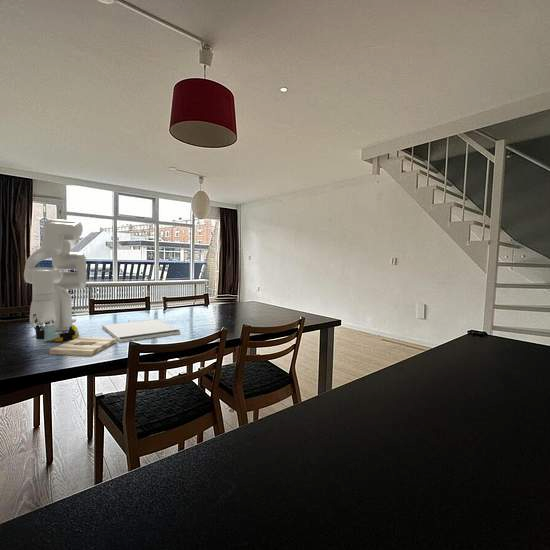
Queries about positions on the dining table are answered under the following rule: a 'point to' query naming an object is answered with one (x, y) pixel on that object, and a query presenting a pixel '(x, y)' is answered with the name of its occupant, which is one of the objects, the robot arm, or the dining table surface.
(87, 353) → the plate
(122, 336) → the white flat board
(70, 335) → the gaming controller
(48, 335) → the servo block
